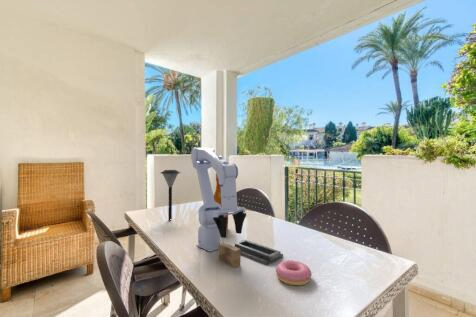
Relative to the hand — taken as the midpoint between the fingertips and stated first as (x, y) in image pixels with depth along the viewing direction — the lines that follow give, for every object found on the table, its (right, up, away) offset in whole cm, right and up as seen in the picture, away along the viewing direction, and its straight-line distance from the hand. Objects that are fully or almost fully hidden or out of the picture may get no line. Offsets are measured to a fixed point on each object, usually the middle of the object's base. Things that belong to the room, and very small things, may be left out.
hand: (231, 235), depth 83 cm
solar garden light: (-38, -10, +56) cm, 69 cm away
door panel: (-1, -10, 0) cm, 10 cm away
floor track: (+10, -10, +8) cm, 16 cm away
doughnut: (+20, -11, -10) cm, 24 cm away
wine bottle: (-8, -10, +39) cm, 41 cm away
